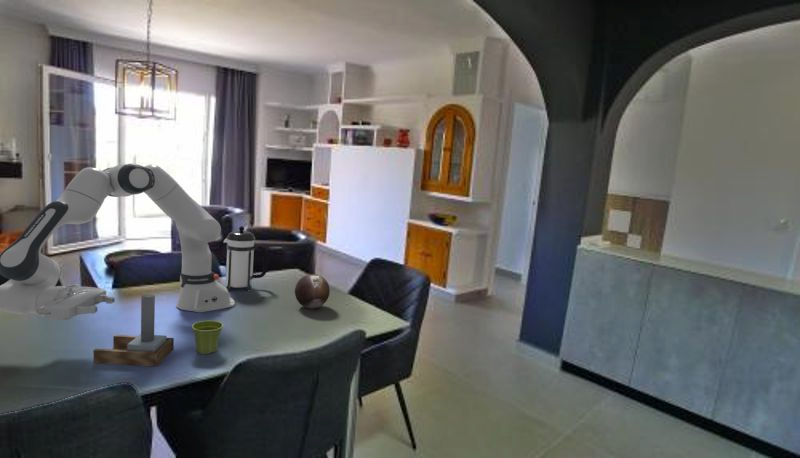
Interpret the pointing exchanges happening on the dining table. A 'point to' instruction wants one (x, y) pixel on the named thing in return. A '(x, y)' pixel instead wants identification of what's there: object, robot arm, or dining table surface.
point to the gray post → (147, 328)
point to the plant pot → (207, 335)
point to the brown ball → (312, 291)
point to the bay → (132, 353)
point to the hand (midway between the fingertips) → (105, 305)
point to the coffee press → (242, 259)
